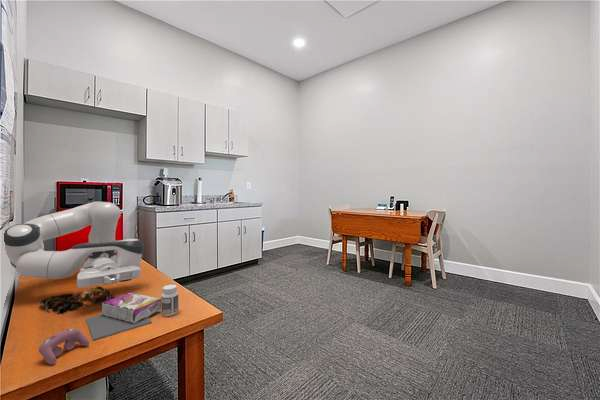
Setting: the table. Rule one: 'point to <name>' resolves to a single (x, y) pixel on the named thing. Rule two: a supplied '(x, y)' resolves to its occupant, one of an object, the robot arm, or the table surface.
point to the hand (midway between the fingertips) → (114, 281)
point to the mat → (111, 326)
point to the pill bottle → (169, 300)
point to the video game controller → (50, 345)
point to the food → (75, 300)
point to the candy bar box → (131, 307)
